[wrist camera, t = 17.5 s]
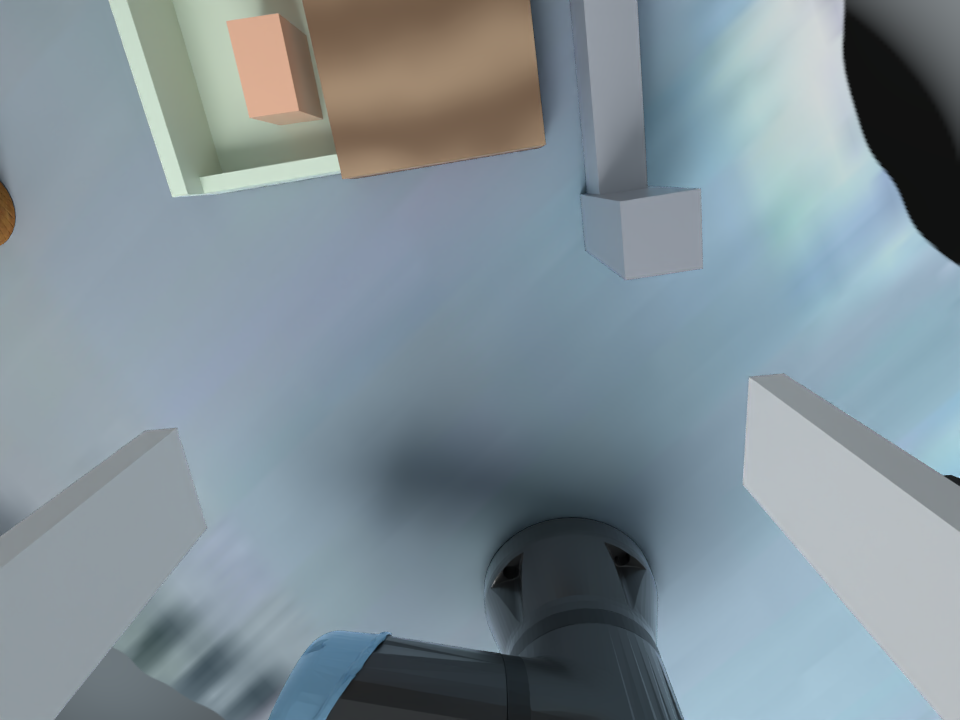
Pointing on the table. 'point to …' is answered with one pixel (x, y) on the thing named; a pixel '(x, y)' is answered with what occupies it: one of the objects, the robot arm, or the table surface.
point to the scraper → (625, 154)
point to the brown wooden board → (426, 81)
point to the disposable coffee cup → (6, 215)
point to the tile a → (275, 70)
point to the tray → (215, 98)
